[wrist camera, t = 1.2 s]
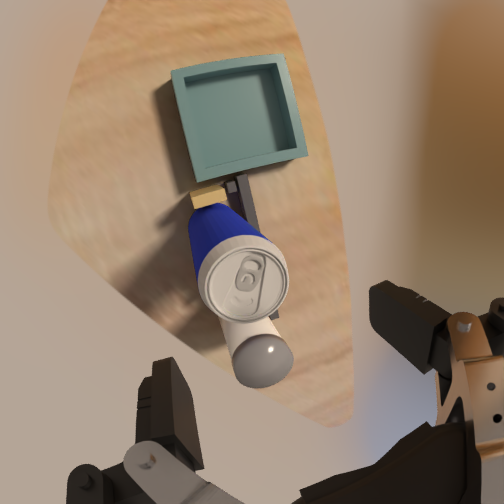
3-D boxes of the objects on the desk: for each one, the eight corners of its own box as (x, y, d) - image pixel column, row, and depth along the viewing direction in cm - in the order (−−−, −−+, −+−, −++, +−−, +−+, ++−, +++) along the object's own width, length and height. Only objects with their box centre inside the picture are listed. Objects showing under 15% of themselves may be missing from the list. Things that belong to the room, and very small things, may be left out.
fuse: (207, 286, 30) (227, 354, 19) (248, 273, 31) (288, 333, 20) (219, 321, 32) (243, 395, 21) (257, 308, 33) (297, 375, 22)
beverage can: (230, 255, 30) (277, 333, 16) (182, 245, 28) (190, 321, 15) (243, 208, 29) (306, 251, 15) (195, 196, 27) (213, 229, 14)
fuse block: (188, 188, 27) (190, 193, 22) (243, 173, 28) (256, 175, 23) (230, 328, 33) (239, 353, 28) (275, 313, 34) (290, 335, 29)
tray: (171, 78, 23) (170, 70, 21) (275, 61, 25) (283, 53, 22) (195, 181, 27) (197, 182, 24) (297, 156, 29) (308, 155, 26)
